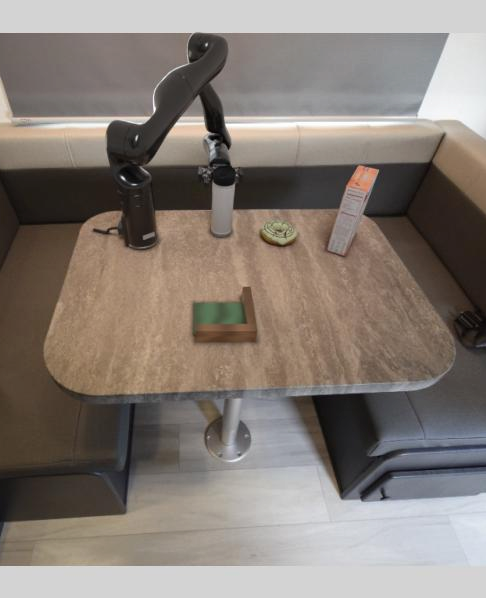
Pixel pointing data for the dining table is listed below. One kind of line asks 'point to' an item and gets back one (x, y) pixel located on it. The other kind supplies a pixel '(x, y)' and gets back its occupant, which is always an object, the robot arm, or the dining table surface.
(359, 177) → the cracker box
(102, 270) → the dining table surface
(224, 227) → the travel mug
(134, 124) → the robot arm
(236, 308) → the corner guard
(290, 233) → the decorated donut
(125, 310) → the dining table surface
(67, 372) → the dining table surface
